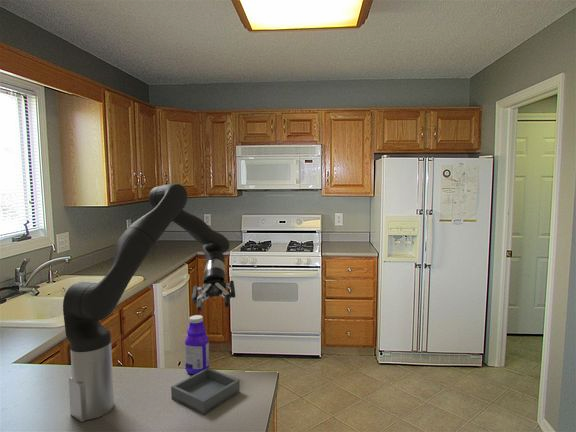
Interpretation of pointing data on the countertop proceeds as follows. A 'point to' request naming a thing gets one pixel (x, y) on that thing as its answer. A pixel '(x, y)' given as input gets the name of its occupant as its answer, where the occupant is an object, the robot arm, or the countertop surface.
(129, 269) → the robot arm
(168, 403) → the countertop surface
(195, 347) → the bottle
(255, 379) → the countertop surface
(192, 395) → the tray
